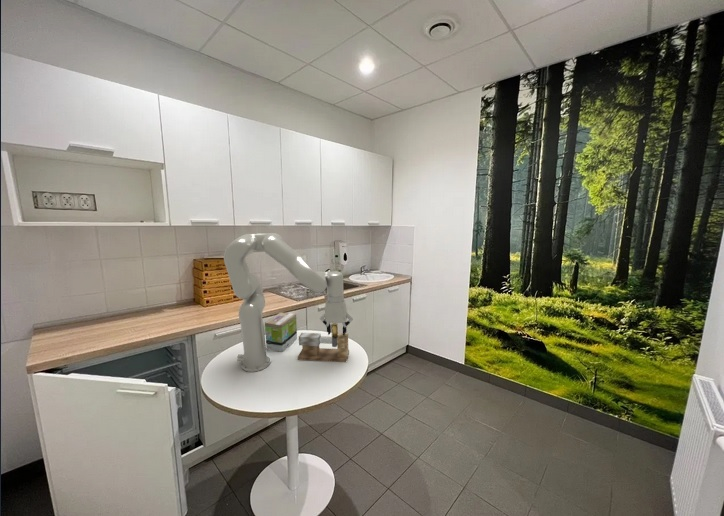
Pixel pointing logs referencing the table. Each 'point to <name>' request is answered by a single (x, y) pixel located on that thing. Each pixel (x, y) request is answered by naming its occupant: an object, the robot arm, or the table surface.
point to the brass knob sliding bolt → (332, 339)
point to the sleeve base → (317, 349)
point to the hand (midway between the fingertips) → (336, 333)
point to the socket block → (342, 345)
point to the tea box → (281, 331)
